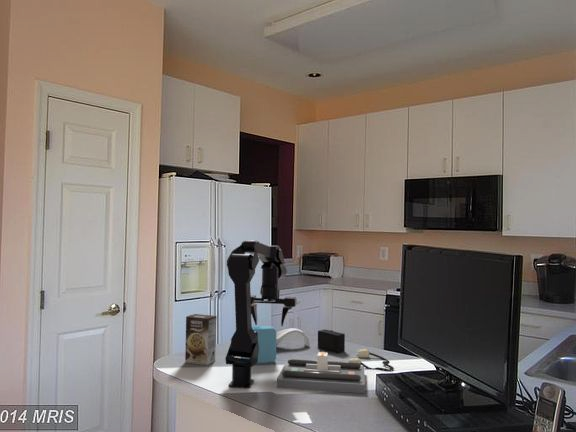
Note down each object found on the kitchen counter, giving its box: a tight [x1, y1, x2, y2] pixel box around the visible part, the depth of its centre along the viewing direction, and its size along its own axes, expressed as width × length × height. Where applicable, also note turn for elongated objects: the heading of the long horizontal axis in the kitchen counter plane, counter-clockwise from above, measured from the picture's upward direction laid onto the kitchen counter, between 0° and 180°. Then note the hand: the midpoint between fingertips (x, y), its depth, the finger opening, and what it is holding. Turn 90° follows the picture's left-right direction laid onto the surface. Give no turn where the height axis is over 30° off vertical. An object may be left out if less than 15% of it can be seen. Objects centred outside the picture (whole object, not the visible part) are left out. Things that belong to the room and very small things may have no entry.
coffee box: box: [184, 313, 217, 366], centre depth 164 cm, size 9×6×16 cm
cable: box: [347, 348, 395, 372], centre depth 165 cm, size 16×16×4 cm
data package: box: [240, 325, 277, 364], centre depth 165 cm, size 12×4×12 cm, turn 106°
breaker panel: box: [276, 358, 366, 394], centre depth 146 cm, size 18×26×4 cm
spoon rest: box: [276, 327, 311, 348], centre depth 185 cm, size 24×12×7 cm, turn 105°
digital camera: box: [317, 329, 346, 355], centre depth 182 cm, size 10×5×7 cm, turn 44°
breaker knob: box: [316, 351, 329, 370], centre depth 146 cm, size 4×3×6 cm
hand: (269, 325), depth 164 cm, fingers open, 9 cm apart
